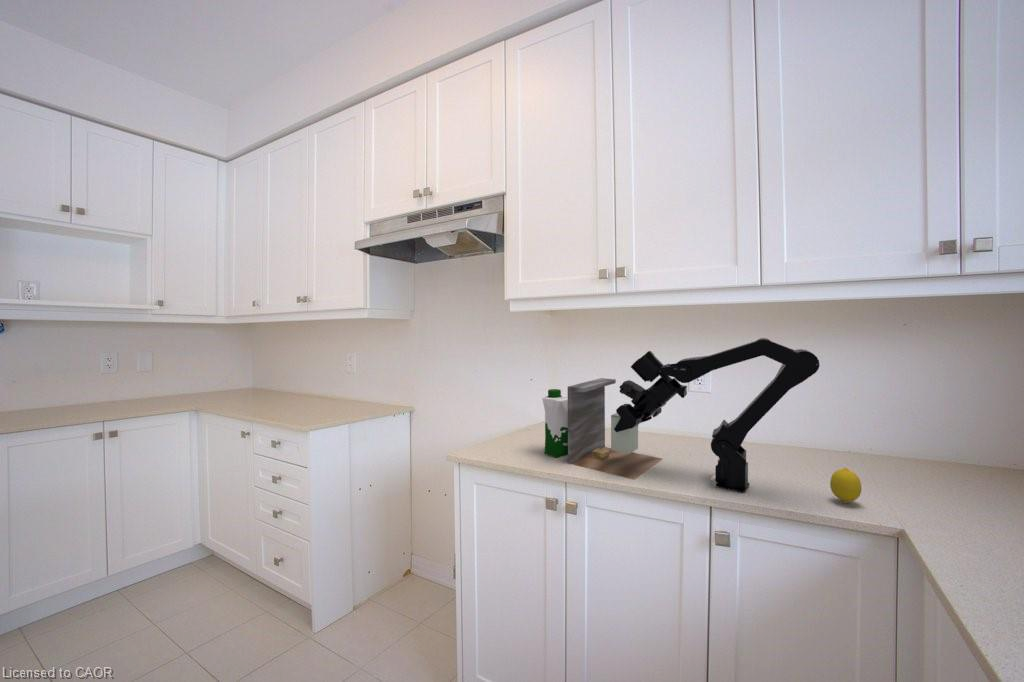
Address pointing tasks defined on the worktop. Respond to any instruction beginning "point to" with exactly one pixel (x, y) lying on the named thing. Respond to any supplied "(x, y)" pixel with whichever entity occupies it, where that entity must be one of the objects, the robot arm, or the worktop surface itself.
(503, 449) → the worktop surface
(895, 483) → the worktop surface
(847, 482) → the lemon
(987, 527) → the worktop surface
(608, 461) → the dock
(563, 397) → the milk carton
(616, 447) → the pale green lidded box
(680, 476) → the worktop surface
